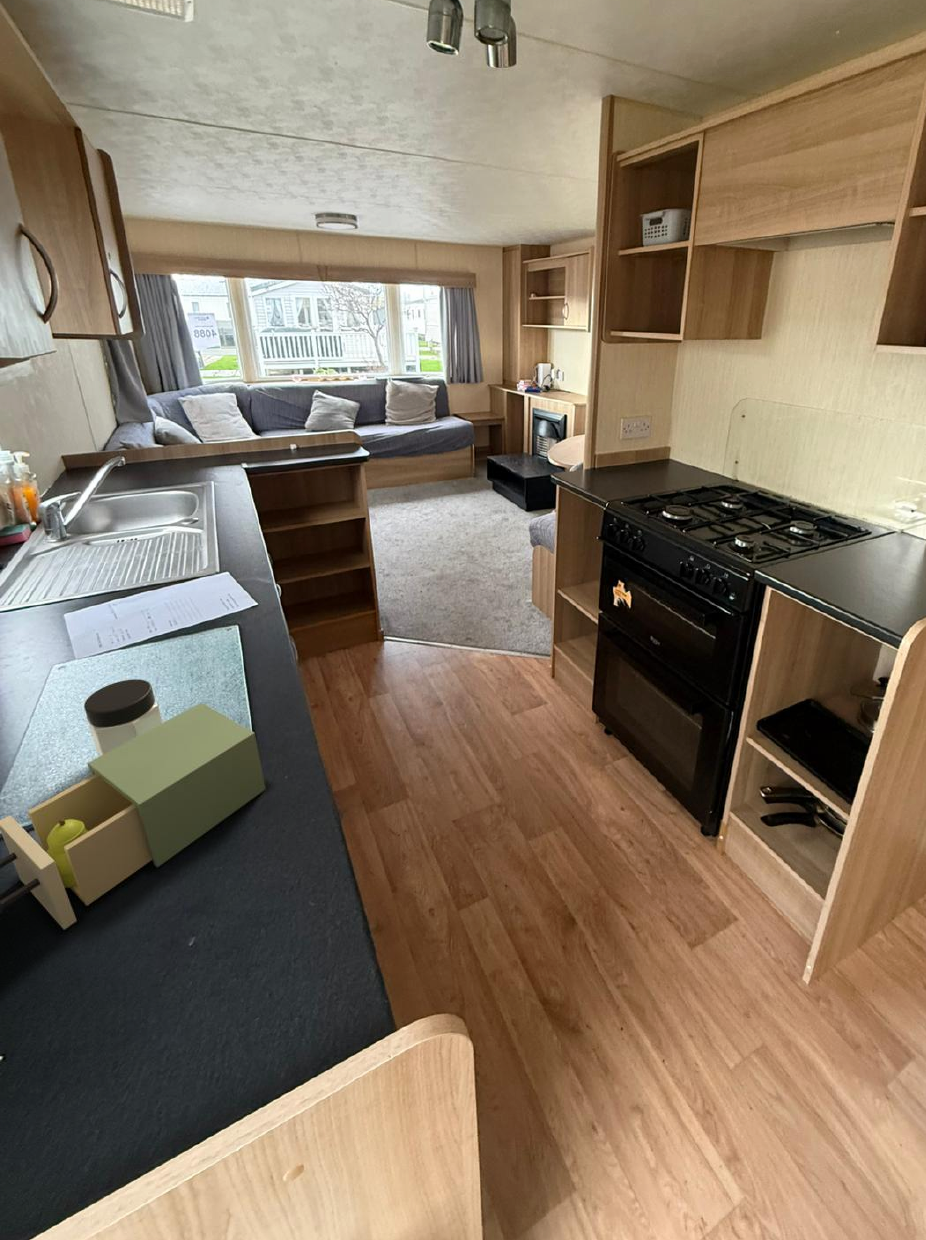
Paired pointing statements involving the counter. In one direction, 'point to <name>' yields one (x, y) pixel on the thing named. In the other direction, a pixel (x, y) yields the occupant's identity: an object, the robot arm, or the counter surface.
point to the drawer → (77, 847)
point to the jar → (121, 713)
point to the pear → (58, 840)
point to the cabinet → (184, 776)
